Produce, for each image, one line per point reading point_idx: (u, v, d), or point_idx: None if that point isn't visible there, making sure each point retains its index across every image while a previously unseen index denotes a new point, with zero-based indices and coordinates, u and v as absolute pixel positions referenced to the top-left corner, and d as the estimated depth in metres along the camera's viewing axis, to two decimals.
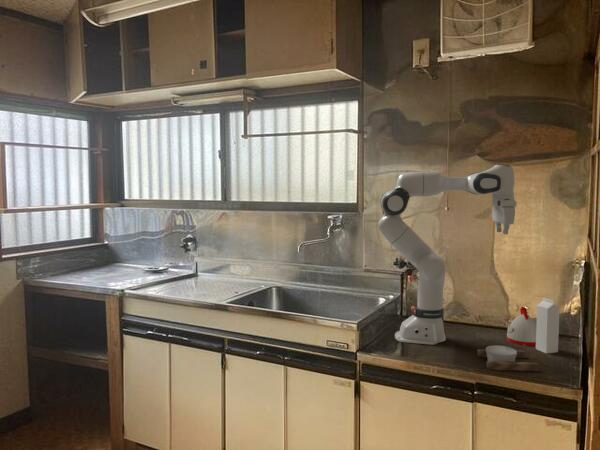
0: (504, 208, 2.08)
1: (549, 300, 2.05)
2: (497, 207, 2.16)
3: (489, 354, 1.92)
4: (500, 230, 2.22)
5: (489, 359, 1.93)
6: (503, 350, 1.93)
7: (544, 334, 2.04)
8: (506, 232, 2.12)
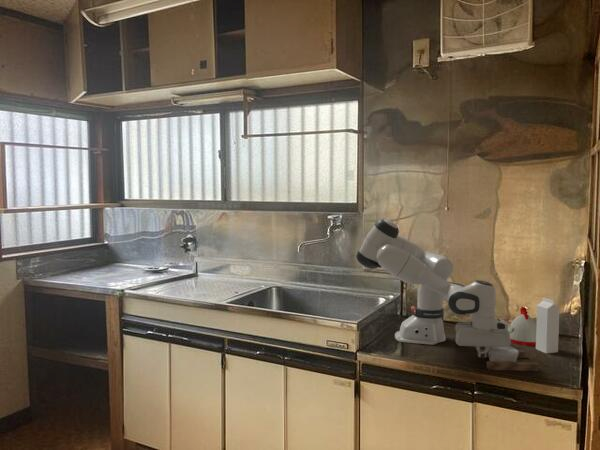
0: (507, 330, 1.90)
1: (549, 300, 2.05)
2: (488, 330, 1.90)
3: (491, 354, 1.92)
4: None
5: (491, 359, 1.93)
6: (505, 349, 1.93)
7: (544, 334, 2.04)
8: None
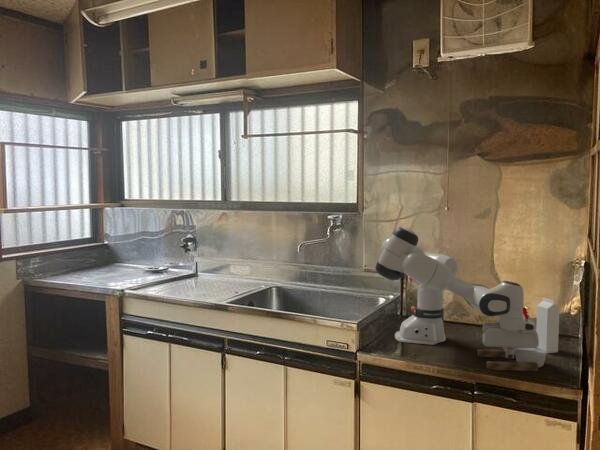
0: None
1: (549, 300, 2.05)
2: (516, 331, 1.89)
3: (518, 355, 1.91)
4: None
5: (518, 360, 1.91)
6: (532, 350, 1.92)
7: (544, 334, 2.04)
8: None
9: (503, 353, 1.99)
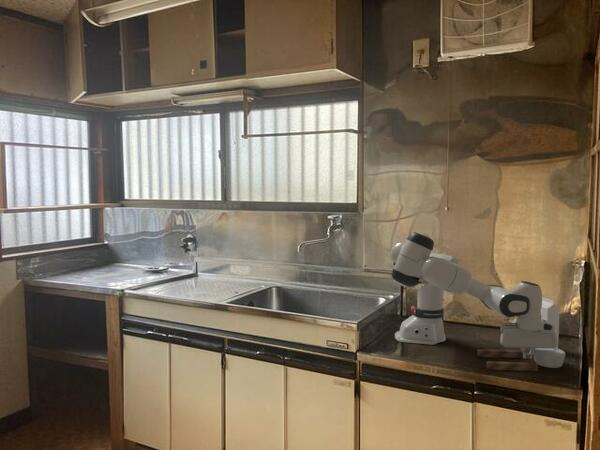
0: None
1: (549, 300, 2.05)
2: (535, 331, 1.89)
3: (537, 355, 1.90)
4: None
5: (537, 360, 1.91)
6: (551, 351, 1.91)
7: None
8: None
9: (503, 353, 1.99)
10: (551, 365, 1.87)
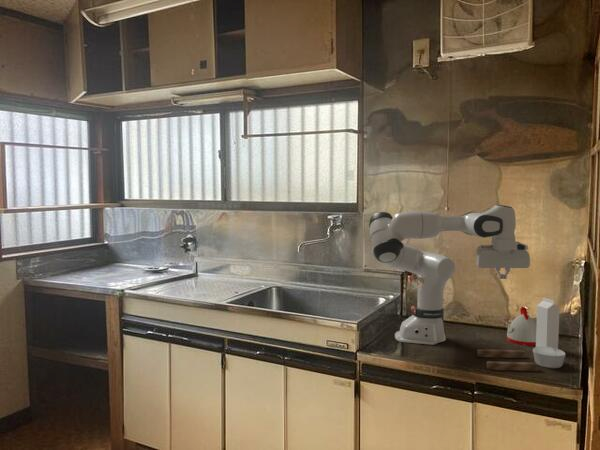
0: None
1: (549, 300, 2.05)
2: (509, 251, 1.98)
3: (537, 355, 1.90)
4: None
5: (537, 360, 1.91)
6: (551, 351, 1.91)
7: (544, 334, 2.04)
8: None
9: (503, 353, 1.99)
10: (551, 365, 1.87)
